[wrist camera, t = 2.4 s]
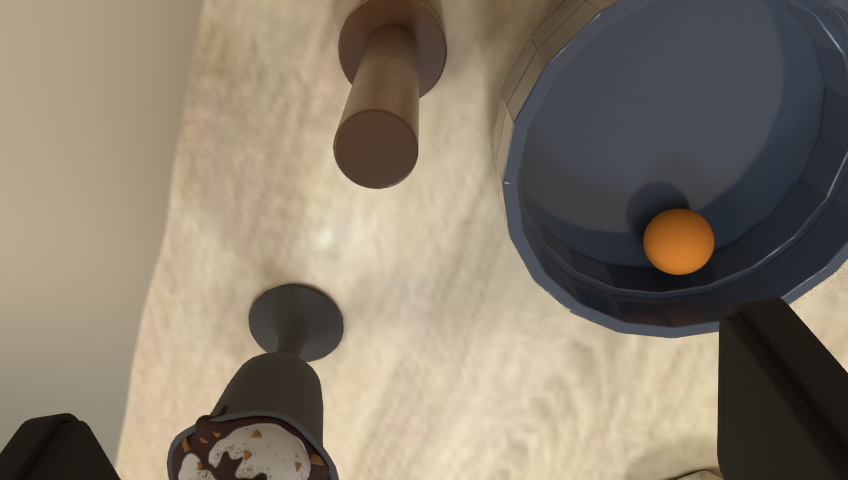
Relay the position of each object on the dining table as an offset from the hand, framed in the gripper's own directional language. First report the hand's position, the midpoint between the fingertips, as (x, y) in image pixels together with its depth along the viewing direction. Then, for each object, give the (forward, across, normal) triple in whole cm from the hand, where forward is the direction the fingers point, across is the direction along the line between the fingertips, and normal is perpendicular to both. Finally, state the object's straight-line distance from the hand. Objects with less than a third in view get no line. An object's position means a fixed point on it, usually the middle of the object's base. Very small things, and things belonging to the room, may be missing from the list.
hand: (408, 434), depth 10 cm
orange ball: (+19, -10, +9) cm, 23 cm away
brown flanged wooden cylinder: (+21, +1, -1) cm, 21 cm away
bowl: (+21, -10, +5) cm, 24 cm away
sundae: (+21, +9, +12) cm, 26 cm away
